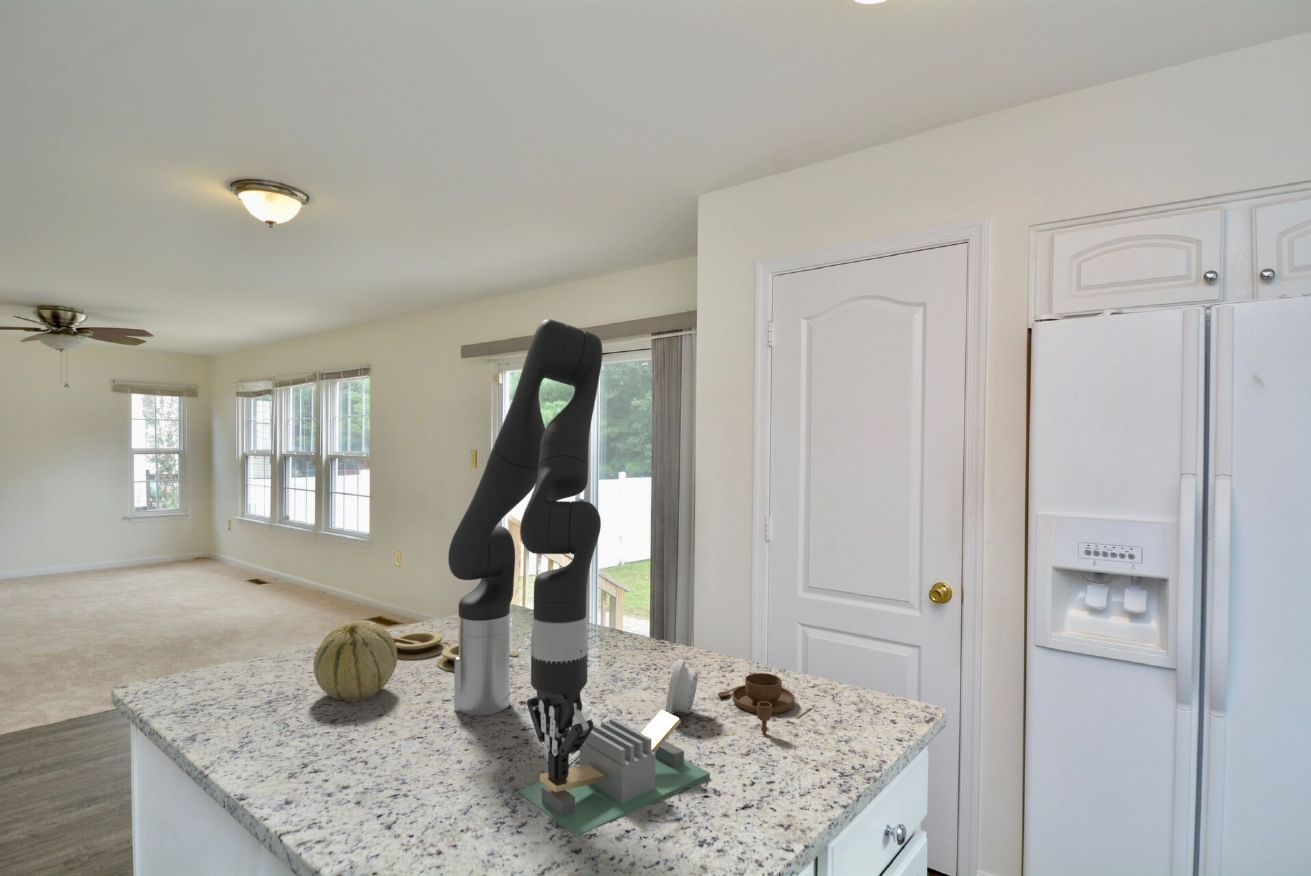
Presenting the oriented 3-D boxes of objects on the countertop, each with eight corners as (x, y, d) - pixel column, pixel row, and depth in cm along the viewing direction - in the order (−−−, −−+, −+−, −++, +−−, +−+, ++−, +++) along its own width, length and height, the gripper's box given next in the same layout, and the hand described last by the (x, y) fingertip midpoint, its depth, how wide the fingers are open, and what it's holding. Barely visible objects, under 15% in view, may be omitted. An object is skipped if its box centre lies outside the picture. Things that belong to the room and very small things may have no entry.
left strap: (555, 792, 90) (556, 785, 90) (539, 780, 93) (540, 774, 93) (604, 781, 95) (605, 775, 95) (587, 770, 98) (588, 764, 98)
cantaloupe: (388, 678, 143) (388, 606, 142) (405, 702, 130) (405, 623, 130) (308, 693, 134) (308, 616, 134) (319, 720, 122) (319, 636, 122)
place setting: (819, 706, 131) (820, 675, 131) (770, 744, 116) (770, 709, 115) (740, 684, 142) (740, 656, 142) (684, 717, 126) (685, 685, 126)
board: (575, 847, 86) (575, 780, 86) (518, 801, 96) (518, 741, 96) (709, 782, 102) (710, 725, 102) (647, 748, 112) (648, 697, 112)
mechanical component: (671, 701, 131) (680, 651, 130) (693, 707, 130) (703, 657, 129) (660, 724, 121) (670, 669, 121) (685, 730, 120) (695, 675, 120)
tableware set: (520, 657, 158) (521, 631, 158) (459, 685, 141) (459, 656, 141) (427, 637, 172) (427, 614, 172) (360, 661, 155) (360, 634, 155)
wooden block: (646, 762, 100) (644, 758, 100) (628, 752, 103) (626, 748, 103) (680, 722, 105) (679, 718, 104) (663, 713, 108) (661, 709, 107)
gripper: (612, 656, 90) (610, 789, 90) (555, 634, 100) (554, 753, 100) (564, 668, 85) (562, 809, 85) (509, 643, 95) (508, 769, 95)
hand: (558, 779), depth 92 cm, fingers closed
